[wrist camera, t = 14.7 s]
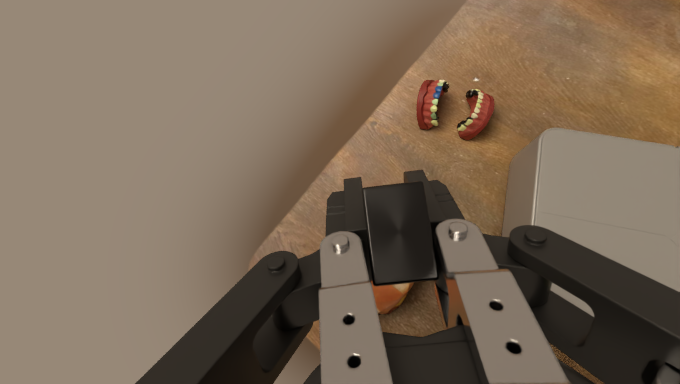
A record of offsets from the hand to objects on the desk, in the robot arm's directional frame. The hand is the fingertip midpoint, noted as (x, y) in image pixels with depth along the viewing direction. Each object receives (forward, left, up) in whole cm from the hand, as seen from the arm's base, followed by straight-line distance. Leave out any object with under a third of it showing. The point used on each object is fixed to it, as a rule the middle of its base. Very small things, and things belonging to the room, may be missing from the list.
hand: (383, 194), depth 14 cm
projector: (+16, -18, -23) cm, 33 cm away
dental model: (+19, 0, -21) cm, 28 cm away
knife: (-1, -2, -10) cm, 10 cm away
